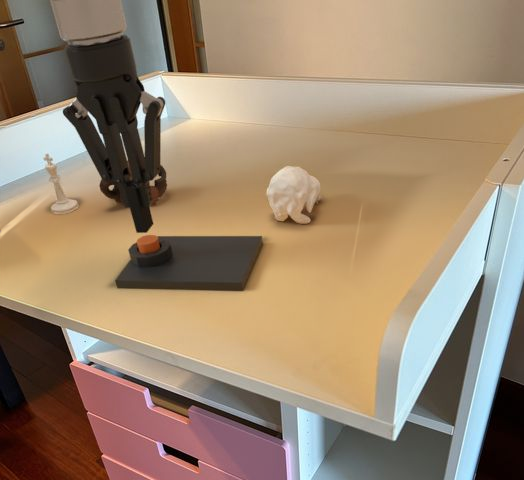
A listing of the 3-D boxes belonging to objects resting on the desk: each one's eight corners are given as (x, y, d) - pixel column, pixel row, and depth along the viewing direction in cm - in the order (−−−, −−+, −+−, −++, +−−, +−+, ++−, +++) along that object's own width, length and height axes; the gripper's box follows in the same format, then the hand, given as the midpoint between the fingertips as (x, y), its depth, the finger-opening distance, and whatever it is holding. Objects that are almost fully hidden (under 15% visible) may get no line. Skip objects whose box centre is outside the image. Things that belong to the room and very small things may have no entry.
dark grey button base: (117, 288, 78) (111, 270, 76) (150, 244, 88) (146, 226, 86) (242, 291, 74) (239, 271, 72) (263, 244, 84) (260, 225, 82)
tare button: (136, 254, 80) (133, 244, 79) (143, 244, 82) (141, 234, 81) (155, 254, 79) (153, 244, 78) (163, 244, 81) (160, 234, 80)
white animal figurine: (261, 171, 83) (294, 151, 91) (265, 226, 87) (296, 202, 96) (301, 174, 80) (331, 153, 89) (302, 231, 85) (331, 205, 94)
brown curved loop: (143, 186, 108) (154, 150, 103) (168, 219, 105) (181, 183, 100) (86, 192, 101) (94, 153, 95) (111, 228, 98) (121, 189, 92)
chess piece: (65, 216, 100) (46, 160, 94) (45, 212, 102) (25, 158, 96) (84, 204, 103) (67, 150, 97) (65, 201, 105) (47, 148, 99)
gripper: (160, 26, 65) (197, 215, 80) (60, 36, 68) (113, 217, 83) (136, 39, 60) (180, 240, 74) (28, 49, 63) (91, 241, 77)
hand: (145, 228), depth 78 cm, fingers closed
